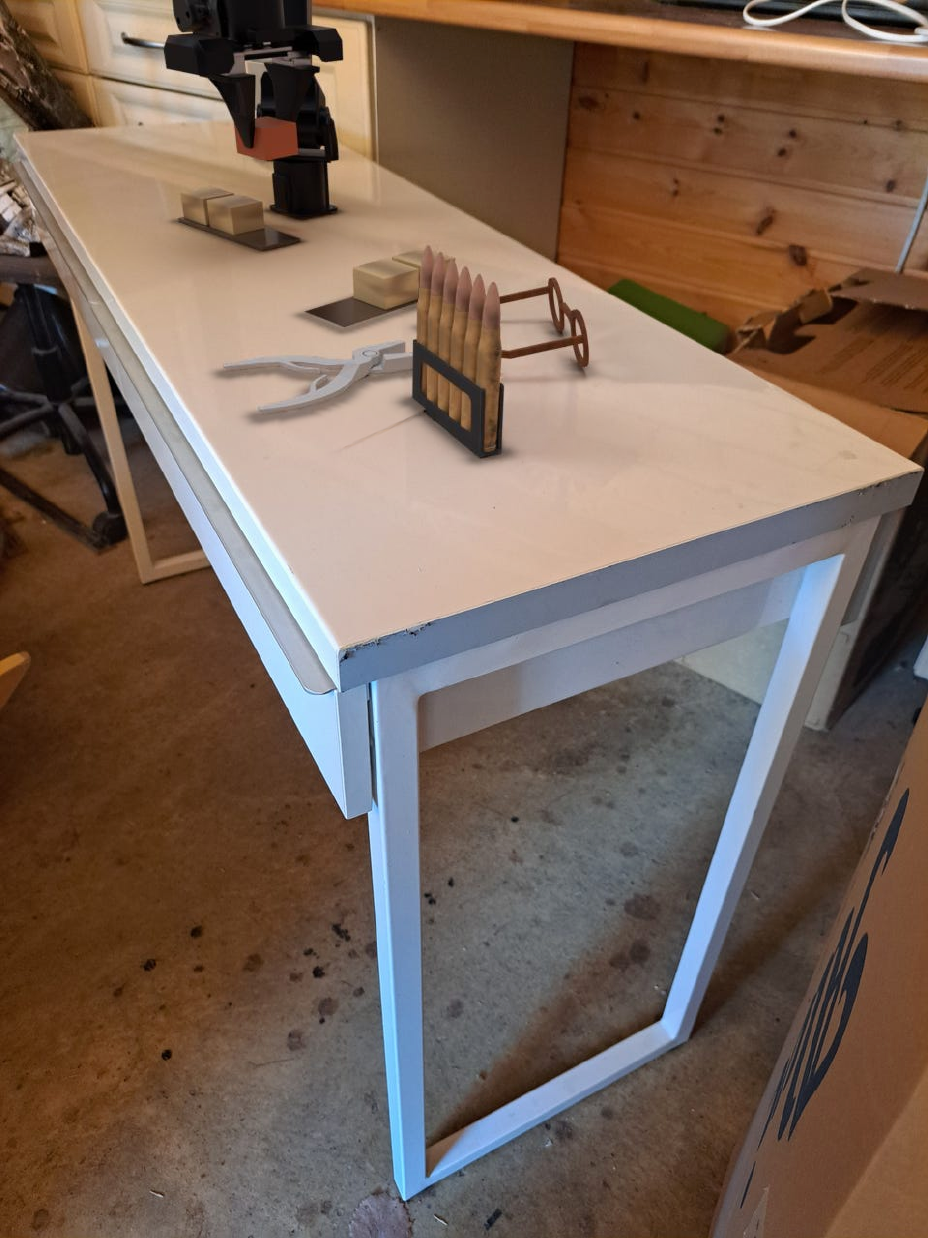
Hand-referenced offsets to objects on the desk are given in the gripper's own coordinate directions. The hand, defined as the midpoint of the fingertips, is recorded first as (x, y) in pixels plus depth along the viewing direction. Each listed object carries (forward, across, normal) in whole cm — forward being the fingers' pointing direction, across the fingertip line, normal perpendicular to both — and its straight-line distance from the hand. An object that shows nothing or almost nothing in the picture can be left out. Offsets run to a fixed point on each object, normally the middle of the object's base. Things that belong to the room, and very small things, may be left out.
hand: (267, 144), depth 93 cm
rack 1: (+11, -1, -9) cm, 14 cm away
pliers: (+10, +21, +31) cm, 38 cm away
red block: (+1, 0, 0) cm, 1 cm away
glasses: (+10, +6, +37) cm, 39 cm away
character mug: (+12, -32, -37) cm, 50 cm away
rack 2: (+10, +4, +21) cm, 24 cm away
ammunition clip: (+10, +20, +44) cm, 49 cm away
